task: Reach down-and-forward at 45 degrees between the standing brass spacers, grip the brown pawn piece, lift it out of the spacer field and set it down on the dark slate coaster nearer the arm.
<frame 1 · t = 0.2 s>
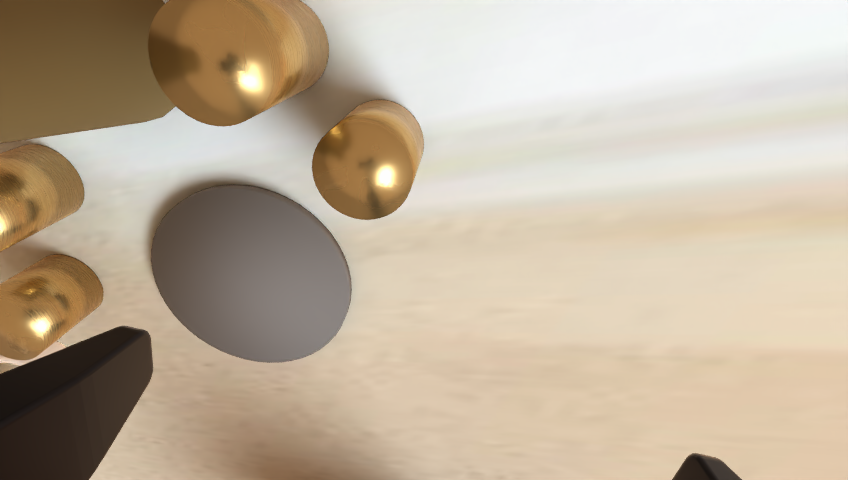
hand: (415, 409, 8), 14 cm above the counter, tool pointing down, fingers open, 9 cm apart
spacer 2: (47, 181, 23), on the counter
brown pawn piece: (121, 48, 20), on the counter
spacer 4: (70, 283, 26), on the counter
spacer 3: (382, 142, 20), on the counter
coaster: (254, 277, 24), on the counter
spacer 1: (284, 45, 19), on the counter
vr controller: (48, 378, 30), on the counter
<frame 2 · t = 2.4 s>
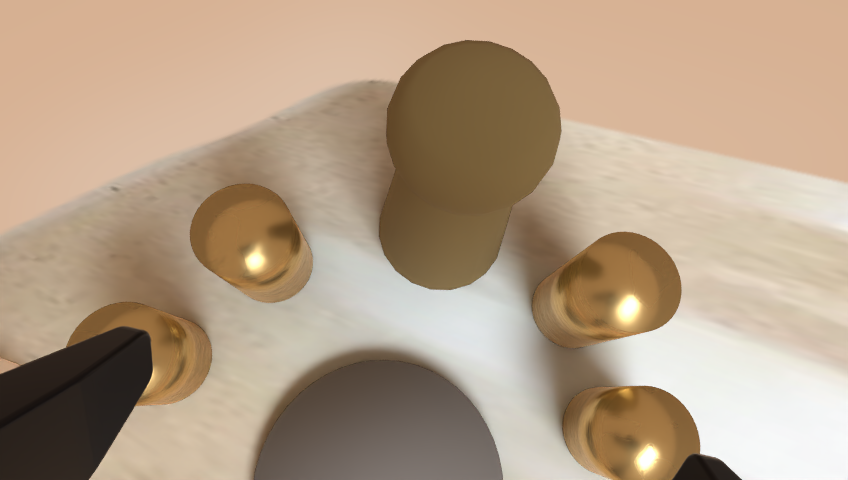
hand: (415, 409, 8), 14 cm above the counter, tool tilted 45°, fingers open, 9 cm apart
spacer 2: (273, 264, 22), on the counter
brown pawn piece: (440, 230, 23), on the counter
spacer 4: (168, 360, 20), on the counter
spacer 3: (603, 430, 21), on the counter
spacer 1: (569, 309, 22), on the counter
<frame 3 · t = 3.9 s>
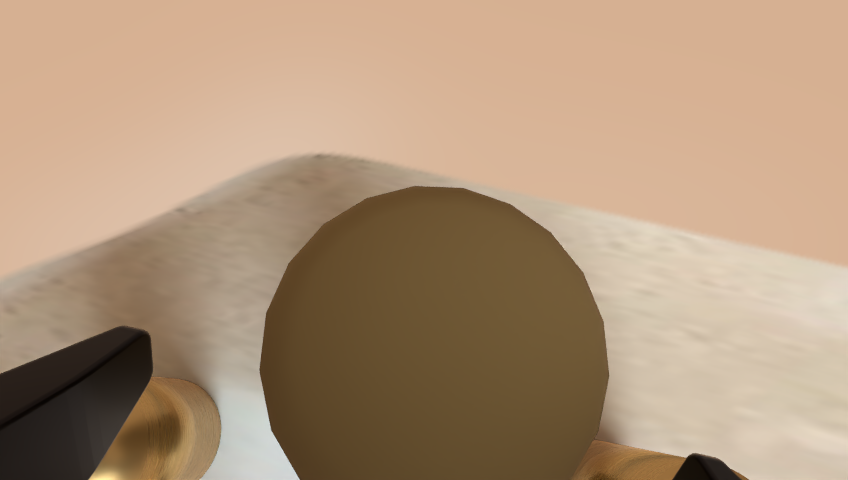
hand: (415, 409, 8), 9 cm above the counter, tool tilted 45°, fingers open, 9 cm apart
spacer 2: (162, 437, 15), on the counter
brown pawn piece: (409, 376, 16), on the counter
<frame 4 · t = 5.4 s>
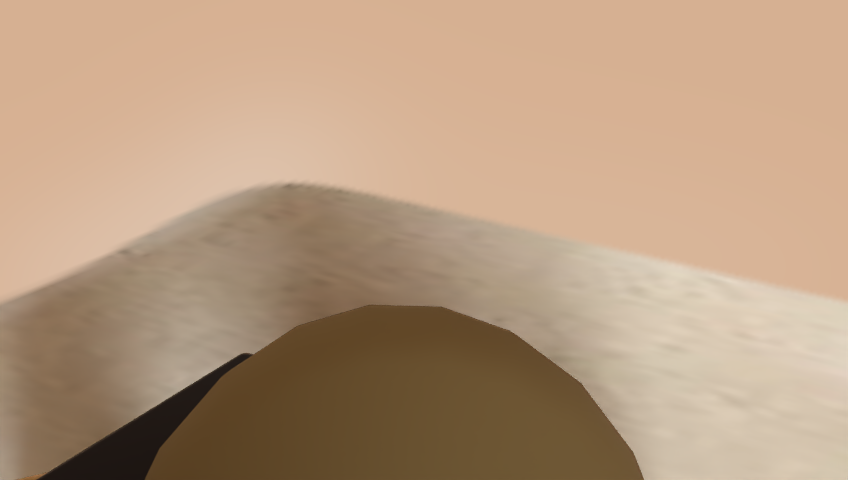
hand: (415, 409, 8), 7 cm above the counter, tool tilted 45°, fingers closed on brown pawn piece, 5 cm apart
brown pawn piece: (392, 452, 14), on the counter, touching gripper
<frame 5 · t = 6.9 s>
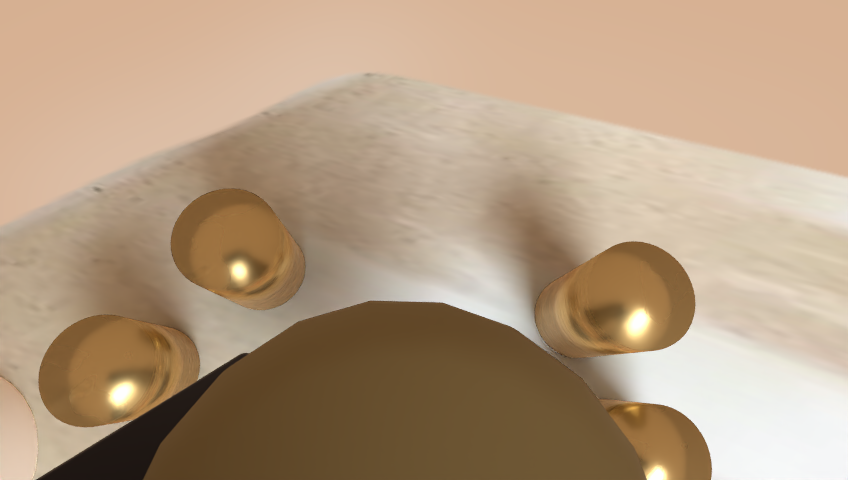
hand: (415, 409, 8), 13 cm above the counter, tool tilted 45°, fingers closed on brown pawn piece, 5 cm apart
spacer 2: (263, 269, 21), on the counter
brown pawn piece: (393, 450, 14), point 6 cm above the counter, touching gripper
spacer 4: (154, 370, 20), on the counter
spacer 3: (608, 444, 20), on the counter
spacer 1: (574, 316, 21), on the counter
when the fingers open (8 cm above the counter, at t = 8.5 s): brown pawn piece stays where it is, resting on coaster.
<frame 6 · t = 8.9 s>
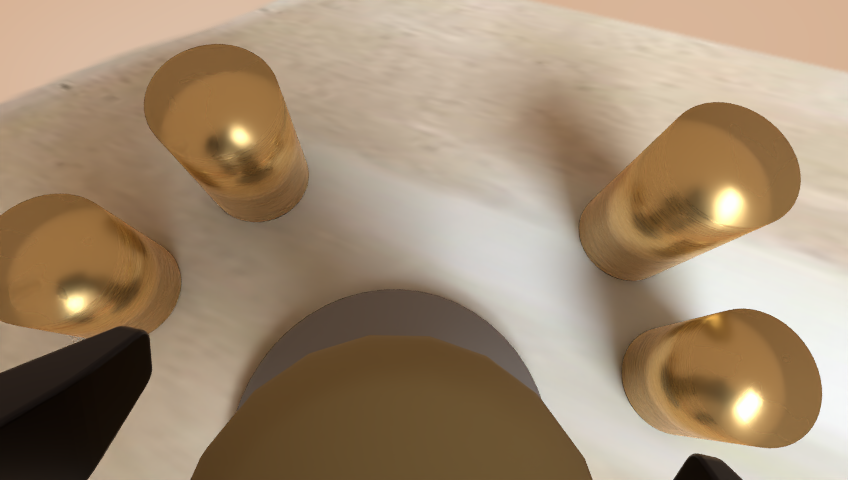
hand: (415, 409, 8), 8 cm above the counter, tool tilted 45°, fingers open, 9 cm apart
spacer 2: (259, 176, 18), on the counter
brown pawn piece: (391, 454, 15), resting on coaster
spacer 4: (126, 288, 16), on the counter
spacer 3: (672, 379, 17), on the counter
coaster: (393, 446, 15), on the counter
spacer 1: (625, 234, 18), on the counter
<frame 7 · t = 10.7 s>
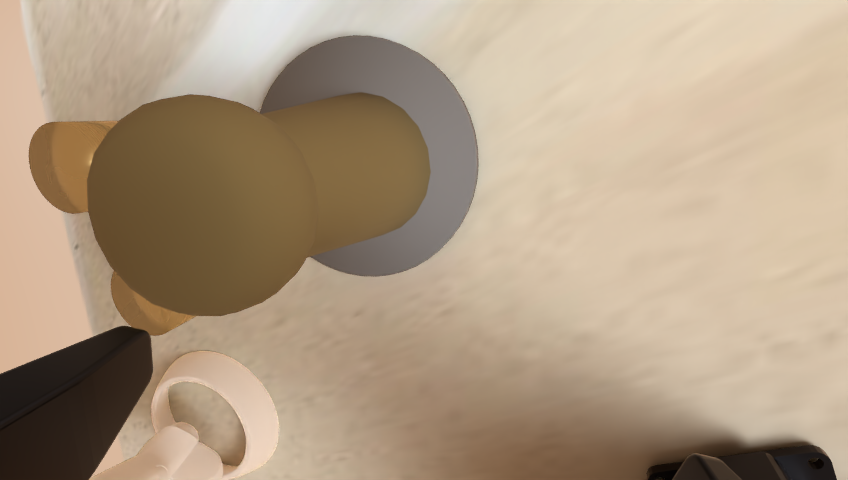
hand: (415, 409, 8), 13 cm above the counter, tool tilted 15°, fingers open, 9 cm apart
spacer 2: (163, 157, 23), on the counter
brown pawn piece: (363, 166, 20), resting on coaster
spacer 4: (208, 269, 24), on the counter
coaster: (363, 162, 21), on the counter
vr controller: (222, 409, 27), on the counter
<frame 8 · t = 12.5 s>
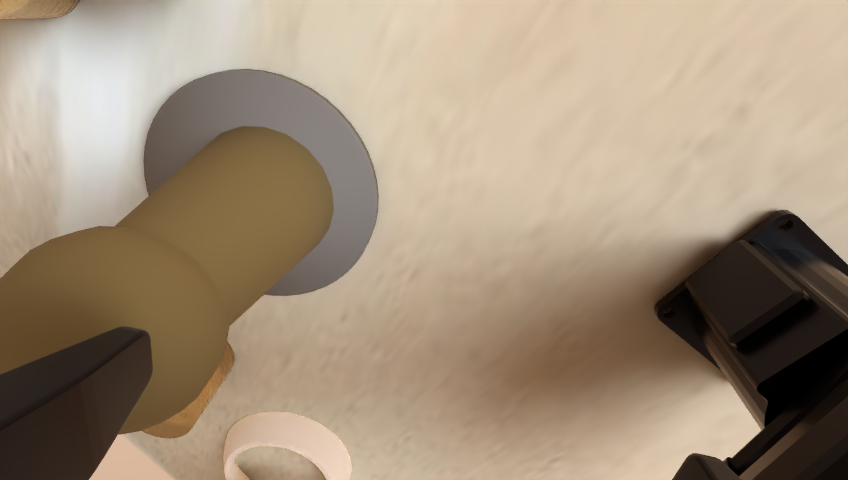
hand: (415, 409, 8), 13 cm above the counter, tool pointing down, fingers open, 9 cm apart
brown pawn piece: (265, 195, 20), resting on coaster
spacer 4: (201, 352, 25), on the counter
coaster: (264, 190, 21), on the counter
vr controller: (289, 454, 29), on the counter
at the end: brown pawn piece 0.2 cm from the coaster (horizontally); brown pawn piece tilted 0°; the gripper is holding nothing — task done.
